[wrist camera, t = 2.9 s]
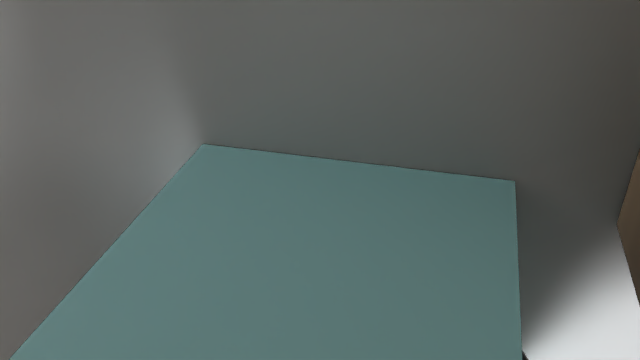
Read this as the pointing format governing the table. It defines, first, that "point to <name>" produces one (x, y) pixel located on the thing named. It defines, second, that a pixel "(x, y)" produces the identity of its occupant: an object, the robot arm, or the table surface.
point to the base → (632, 226)
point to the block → (300, 268)
